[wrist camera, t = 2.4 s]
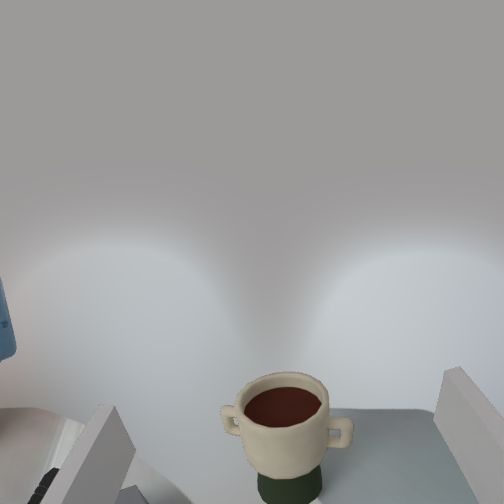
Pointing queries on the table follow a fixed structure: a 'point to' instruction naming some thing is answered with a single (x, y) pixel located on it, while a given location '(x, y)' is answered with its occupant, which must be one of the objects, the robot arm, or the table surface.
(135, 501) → the power brick
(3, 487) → the table surface
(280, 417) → the character mug
